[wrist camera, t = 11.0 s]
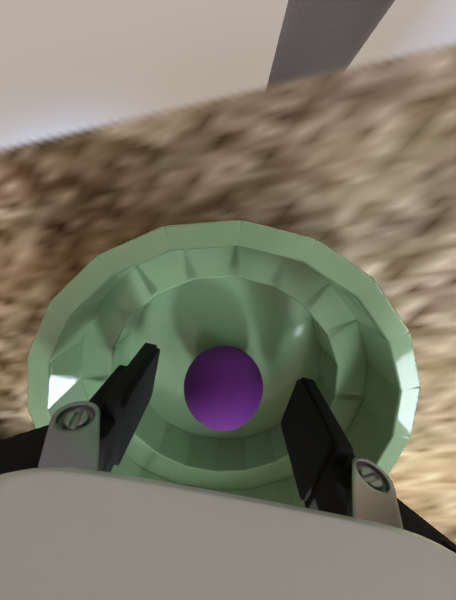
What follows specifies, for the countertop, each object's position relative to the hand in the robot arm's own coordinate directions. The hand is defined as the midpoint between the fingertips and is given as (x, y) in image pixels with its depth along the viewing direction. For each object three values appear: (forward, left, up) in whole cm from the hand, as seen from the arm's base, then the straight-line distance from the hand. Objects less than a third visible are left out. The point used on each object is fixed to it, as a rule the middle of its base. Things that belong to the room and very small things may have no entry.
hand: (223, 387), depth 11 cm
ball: (0, 0, 0) cm, 0 cm away
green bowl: (0, 0, -3) cm, 3 cm away
